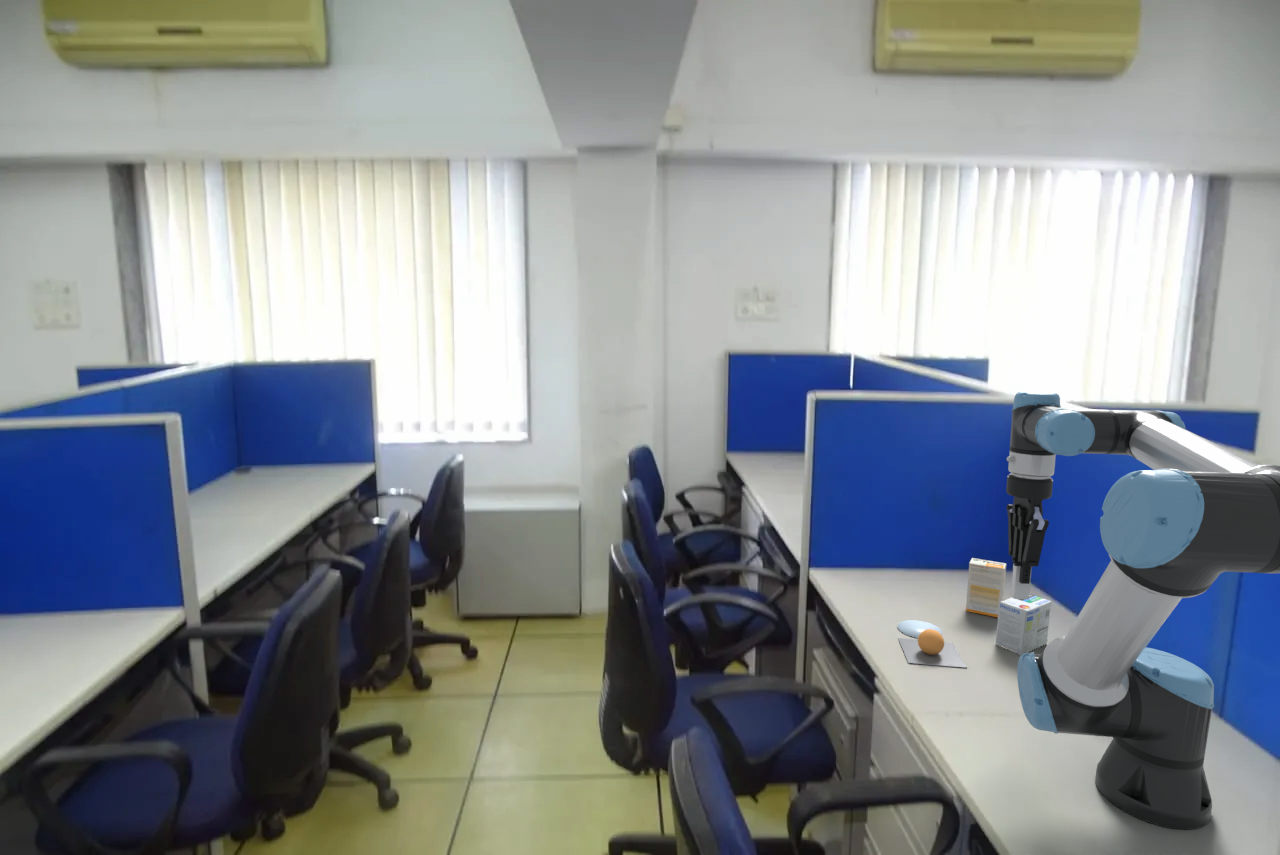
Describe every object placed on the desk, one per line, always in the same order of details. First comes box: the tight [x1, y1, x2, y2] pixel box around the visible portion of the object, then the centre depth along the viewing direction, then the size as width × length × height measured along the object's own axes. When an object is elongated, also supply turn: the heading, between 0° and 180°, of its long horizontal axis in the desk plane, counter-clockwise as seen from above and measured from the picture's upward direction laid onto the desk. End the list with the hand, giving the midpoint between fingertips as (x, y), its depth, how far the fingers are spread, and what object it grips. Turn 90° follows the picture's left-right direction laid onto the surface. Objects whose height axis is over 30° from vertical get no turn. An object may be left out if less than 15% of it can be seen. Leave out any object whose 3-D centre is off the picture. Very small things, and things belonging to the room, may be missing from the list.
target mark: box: [898, 637, 968, 669], centre depth 164 cm, size 12×12×1 cm
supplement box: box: [965, 557, 1007, 618], centre depth 185 cm, size 8×5×13 cm, turn 58°
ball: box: [917, 629, 945, 655], centre depth 163 cm, size 6×6×6 cm
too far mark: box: [897, 619, 943, 639], centre depth 176 cm, size 10×10×1 cm
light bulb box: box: [995, 593, 1052, 656], centre depth 168 cm, size 11×7×11 cm, turn 123°
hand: (1019, 597), depth 138 cm, fingers closed
